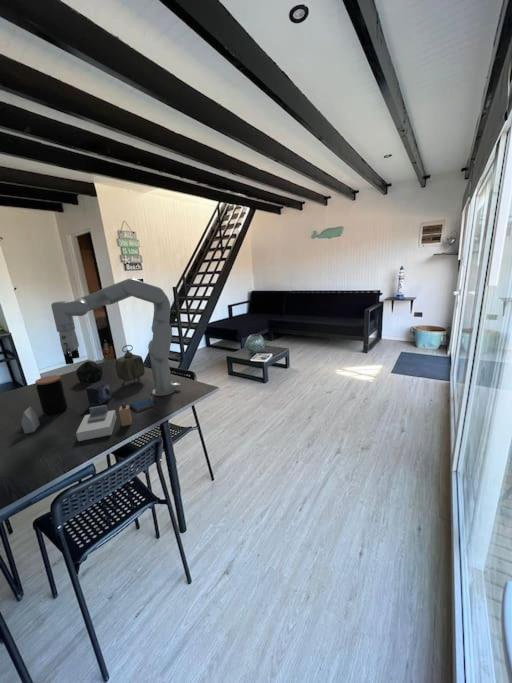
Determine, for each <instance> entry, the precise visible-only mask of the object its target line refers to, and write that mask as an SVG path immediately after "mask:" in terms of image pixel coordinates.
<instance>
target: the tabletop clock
mask: <svg viewBox="0 0 512 683" xmlns="http://www.w3.org/2000/svg"><path fill="white" fill-rule="evenodd" d="M126 347H131V349H126V350H124V349H125V348H126ZM133 349H134V347H133V345H131V344H126V345H124V346H123V347H122V349H121V352H123V353H124V355H123V356H120V357H118V358H116V360H115V372H116V375H117V378H118V379H119V380H122V381H123V383H121V386H125V383H126V382H131V381H133V384H134V385H137V384H138V382H137V381H136V380H138V381H140V380H141V377H143V376H144V375H145V372H146V371H145V364H144V360H143V357H142V356H141V355H137V354H133V352H131V351H132V350H133Z"/></svg>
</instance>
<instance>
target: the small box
mask: <svg viewBox="0 0 512 683" xmlns="http://www.w3.org/2000/svg"><path fill="white" fill-rule="evenodd" d="M85 389H86V394H87V399H88V405H89V407H97V406H102V405H105V404H106V403H107V402H108V401H111V400H112V399H113V396H112V391H111V385H110V381H107V380H98V381H96V382H94V383H92V384H91V385H89V386H87V387H86V388H85Z"/></svg>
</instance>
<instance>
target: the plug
mask: <svg viewBox="0 0 512 683" xmlns="http://www.w3.org/2000/svg"><path fill="white" fill-rule="evenodd" d="M126 404H127V403H126V402H122V403H121V406H119V409H118V413H119V418H120V423H121V426H122V427H126V426H129V425H132V422H133V419H132V412H131V409H130V408H131V407H130V406H129V405H130V404H127V405H126Z"/></svg>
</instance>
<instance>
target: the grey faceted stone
mask: <svg viewBox="0 0 512 683" xmlns="http://www.w3.org/2000/svg"><path fill="white" fill-rule="evenodd" d="M40 425H41V424H40V420H39V417H38V414H37V412H36V411H35V409H33V408H32V407H31V406H29V407H28V408H26V409H25V411H23V413H22V419H21V426H22V429H23V433H24V434H25V435H26V434H30V433H34V432H36V430H37V429H38V428H39V426H40Z"/></svg>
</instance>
